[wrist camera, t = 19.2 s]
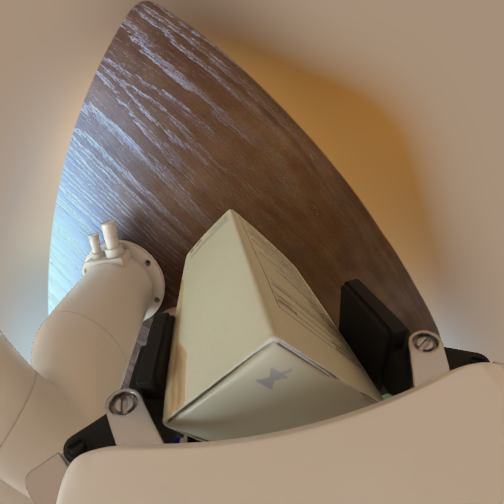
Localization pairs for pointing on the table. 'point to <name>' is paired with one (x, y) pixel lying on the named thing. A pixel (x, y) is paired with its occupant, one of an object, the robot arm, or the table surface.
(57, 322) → the robot arm
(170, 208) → the table surface
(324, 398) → the cosmetic box
